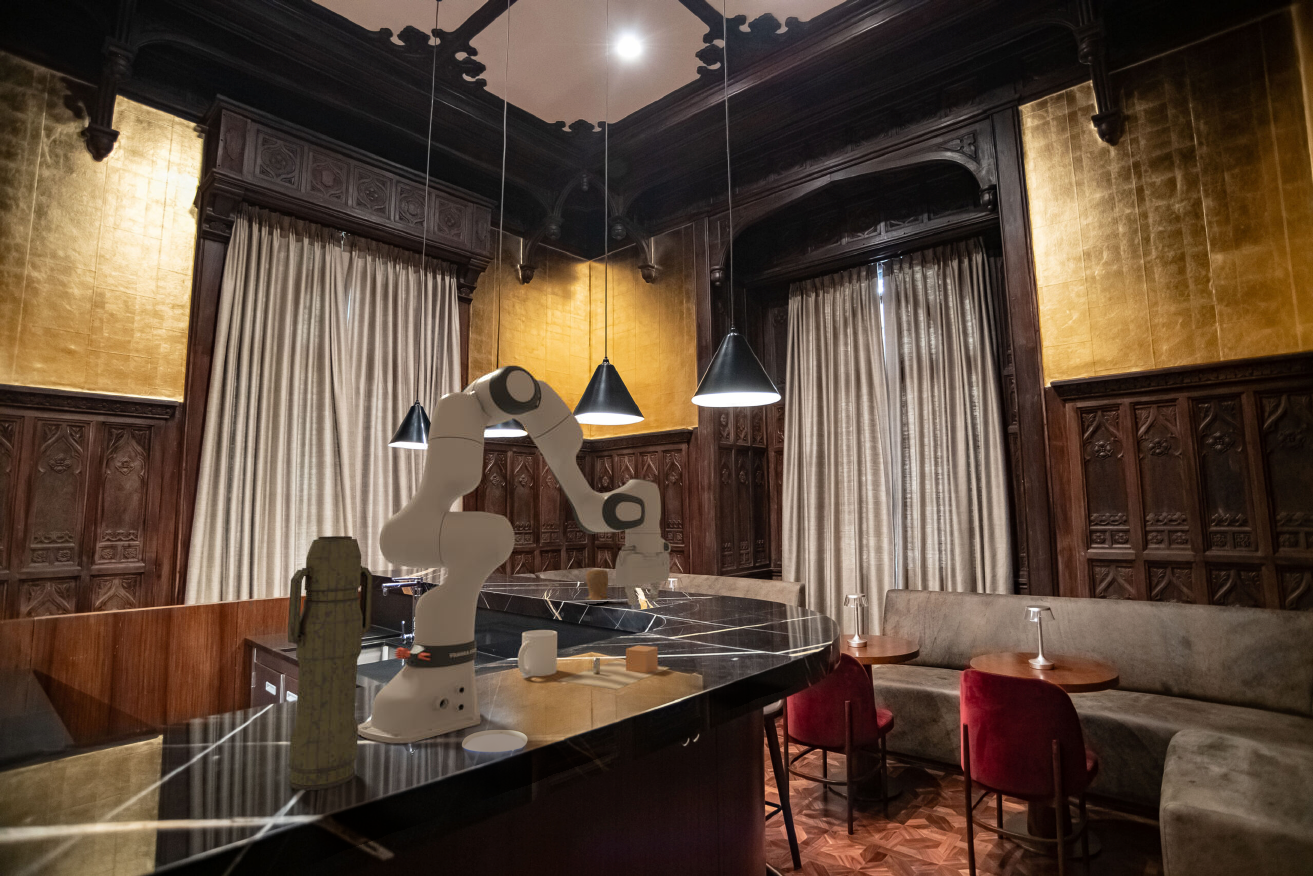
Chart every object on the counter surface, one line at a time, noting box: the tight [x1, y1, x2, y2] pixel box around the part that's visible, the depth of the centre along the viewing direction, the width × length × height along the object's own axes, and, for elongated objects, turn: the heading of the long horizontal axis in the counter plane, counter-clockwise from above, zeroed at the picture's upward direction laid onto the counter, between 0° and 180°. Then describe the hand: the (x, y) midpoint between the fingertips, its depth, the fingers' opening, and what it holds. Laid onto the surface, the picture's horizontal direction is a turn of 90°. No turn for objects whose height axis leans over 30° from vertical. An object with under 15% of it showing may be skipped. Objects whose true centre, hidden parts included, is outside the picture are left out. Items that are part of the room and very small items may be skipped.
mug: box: [517, 629, 558, 679], centre depth 160 cm, size 12×8×10 cm
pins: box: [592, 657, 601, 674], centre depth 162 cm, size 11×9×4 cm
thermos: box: [287, 535, 374, 791], centre depth 101 cm, size 9×12×35 cm
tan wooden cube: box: [625, 644, 659, 673], centre depth 164 cm, size 6×6×5 cm
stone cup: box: [584, 569, 611, 600], centre depth 299 cm, size 15×12×15 cm
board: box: [556, 660, 670, 691], centre depth 159 cm, size 24×16×1 cm, turn 150°
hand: (643, 602), depth 165 cm, fingers open, 8 cm apart
